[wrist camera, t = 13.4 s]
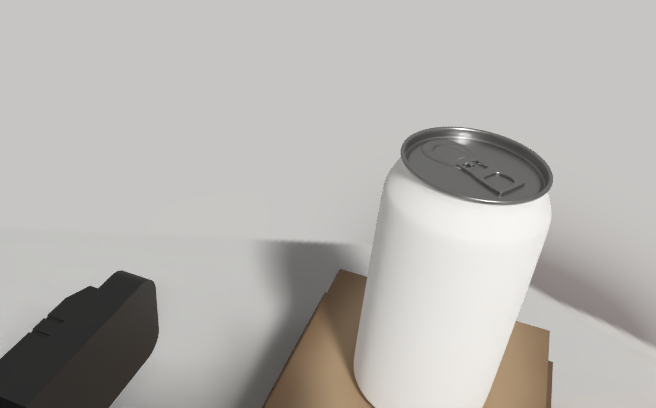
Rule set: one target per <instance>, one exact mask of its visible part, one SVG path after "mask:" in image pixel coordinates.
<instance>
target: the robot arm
mask: <svg viewBox="0 0 656 408" xmlns="http://www.w3.org/2000/svg"><path fill="white" fill-rule="evenodd" d="M158 333H159V326H158V313H157V300H156V288H155V284H154V282H153V281H152V280H149V279H146V278H143V277H140V276H137V275H134V274H131V273H128V272H125V271H117V272H116V273H114V274H113V275H112V276H111V277H110V278H109V279H108V280H107V281H105V282H104V283H103V284H102V285H101V286H100V287H99V288H95V287H92V286H89V287H87V288H85V289H83V290H81V291H79V292H77V293H75V294H73V295H71V296H69V297H67V298H65V299H64V300H63V301H62V302H61V303H60V304H59V305H58V306H57V307H56V308H55V309H54V310H53V311H51V312H50V313H49V314H48V317H47V318H46V319H45V318H44V319H43V320H42V321H41V322H40V323H39V324H37V325H36V326H35V327H34V328H33V331H32V332H31V333H28V334H27V335H26V336H25V337H23V338H22V339H21V340H20V341H19V342H18V343H17V344H16V345H15V346H14V347H13V348H12V349H11V350H10V351H8V352H7V353H6V354H5V355H4V356H3V357H2V358H1V359H0V408H109V407H110V405H111V404H112V403H113V401H114V400H115V399H116V398H117V396H118V395H119V394H120V393H121V391H122V390H123V389H124V388H125V386H126V385H127V384H128V383H129V381H130V380H131V379H132V378H133V376H134V375H135V374H136V373H137V371H138V370H139V369H140V368H141V366H142V365H143V364H144V363H145V361H146V360H147V359H148V358H149V356H150V355H151V353H152V351H153V349H154V347H155V345H156V342H157V338H158Z"/></svg>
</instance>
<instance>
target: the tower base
mask: <svg viewBox="0 0 656 408" xmlns="http://www.w3.org/2000/svg"><path fill="white" fill-rule="evenodd" d="M366 282H367V277H365V276H362V275H358V274H355V273H352V272H348V271H345V270H341V269H340V270H339V272H338V274H337V276H336V277H335V279H334V281H333V283H332V285H331V287H330V288H329V290H328V292H327V293H326V292H325V294H324V295H323V297H322V299H321V301H320V303H319V304H318V306H317V308H316V310H315V312H314V314H313V315H312V317H311V319H310V321H309V323H308V325H307V326H306V328H305V330H304V332H303V334H302V335H301V337H300V339H299V341H298V343H297V345H296V346H295V348H294V350H293V352H292V354H291V355H290V357H289V359H288V361H287V363H286V365H285V366H284V368H283V370H282V372H281V374H280V376H279V377H278V379H277V381H276V383H275V385H274V386H273V388H272V390H271V392H270V394H269V396H268V397H267V399H266V401H265V403H264V405H263V406H262V408H375V407H374V406H373V405H372V404H371V403H370V402H369V401H368V400H367V399H366V397H365V396H364V395H363V393H362V392H361V390H360V388H359V386H358V384H357V381H356V378H355V375H354V355H355V348H356V341H357V335H358V329H359V323H360V317H361V311H362V305H363V299H364V294H365V288H366ZM549 333H550V331H548V330H545V329H541V328H538V327H534V326H531V325H528V324H524V323H521V322H517V321H516V322H515V324H514V327H513V330H512V333H511V335H510V338H509V341H508V343H507V346H506V349H505V352H504V354H503V357H502V360H501V362H500V365H499V368H498V370H497V373H496V376H495V378H494V381H493V384H492V386H491V389H490V392H489V394H488V397H487V399H486V401H485V403H484V405H483V407H482V408H551V392H552V367H553V362H551V361H548V354H549Z"/></svg>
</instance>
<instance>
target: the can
mask: <svg viewBox="0 0 656 408" xmlns="http://www.w3.org/2000/svg"><path fill="white" fill-rule="evenodd" d="M552 183H553V175H552V172H551V170H550V168H549V166H548V165H547V163H546V162H545V161H544V160H543V159H542V158H541V157H540V156H539V155H538V154H536V153H535V152H534V151H532V150H531V149H529V148H527V147H526V146H524V145H522V144H520V143H518V142H516V141H514V140H511V139H509V138H506V137H504V136H501V135H498V134H494V133H491V132H487V131H483V130H477V129H471V128H463V127H437V128H430V129H426V130H422V131H419V132H417V133H415V134H413V135H411V136H410V137H408V138H407V139H406V140H405V141H404V143H403V145H402V148H401V157H400V159H399V160H398V161H397V162H396V163H395V165H394V166H393V168H392V169H391V170H390V172H389V173H388V175H387V177H386V180H385V183H384V188H383V192H382V197H381V202H380V208H379V213H378V219H377V225H376V230H375V236H374V241H373V247H372V253H371V259H370V264H369V270H368V276H367V282H366V288H365V294H364V299H363V305H362V311H361V317H360V323H359V329H358V335H357V341H356V348H355V355H354V375H355V378H356V381H357V384H358V386H359V388H360V390H361V392H362V393H363V395H364V396H365V397H366V399H367V400H368V401H369V402H370V403H371V404H372V405H373V406H374V407H375V408H482V407H483V405H484V403H485V401H486V399H487V397H488V394H489V392H490V389H491V386H492V384H493V381H494V378H495V376H496V373H497V370H498V368H499V365H500V362H501V360H502V357H503V354H504V352H505V349H506V346H507V343H508V341H509V338H510V335H511V333H512V330H513V327H514V324H515V322H516V319H517V316H518V314H519V311H520V308H521V305H522V303H523V300H524V297H525V294H526V292H527V289H528V286H529V283H530V281H531V278H532V275H533V272H534V270H535V267H536V264H537V261H538V258H539V256H540V253H541V250H542V247H543V244H544V242H545V238H546V235H547V232H548V229H549V225H550V221H551V206H550V200H549V195H548V191H549V189H550V188H551V186H552Z"/></svg>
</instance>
